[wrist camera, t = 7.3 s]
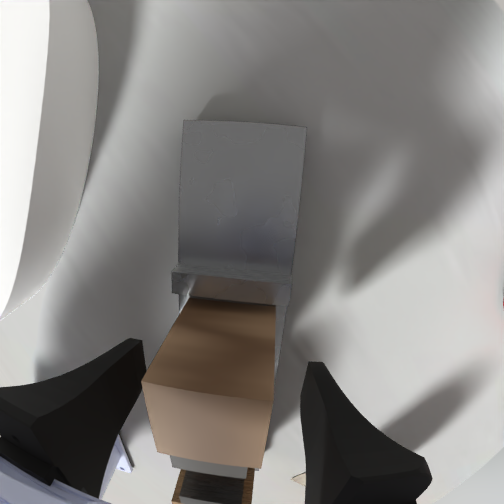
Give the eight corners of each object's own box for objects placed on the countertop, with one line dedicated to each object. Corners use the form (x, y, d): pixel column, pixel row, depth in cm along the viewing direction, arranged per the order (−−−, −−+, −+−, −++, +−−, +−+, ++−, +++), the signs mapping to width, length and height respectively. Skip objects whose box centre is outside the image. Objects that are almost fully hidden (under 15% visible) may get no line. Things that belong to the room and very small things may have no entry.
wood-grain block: (192, 378, 16) (160, 464, 10) (189, 297, 14) (141, 381, 8) (265, 387, 15) (258, 479, 10) (275, 306, 14) (273, 400, 8)
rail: (195, 447, 20) (173, 526, 13) (193, 123, 13) (111, 96, 6) (259, 455, 20) (252, 538, 12) (303, 130, 13) (334, 101, 6)
